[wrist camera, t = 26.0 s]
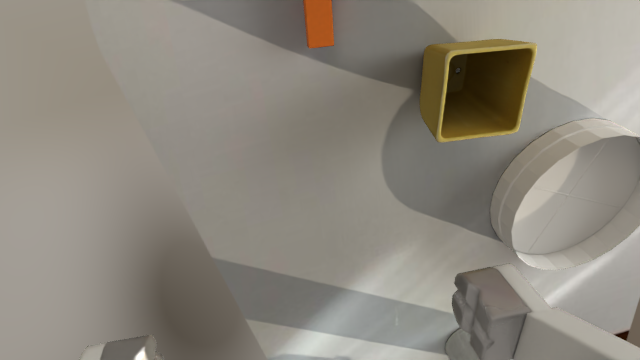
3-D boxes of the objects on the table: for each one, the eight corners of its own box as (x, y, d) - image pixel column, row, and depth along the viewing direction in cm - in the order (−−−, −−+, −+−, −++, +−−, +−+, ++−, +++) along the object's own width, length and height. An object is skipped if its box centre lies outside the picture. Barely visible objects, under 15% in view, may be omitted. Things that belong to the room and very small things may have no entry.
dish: (462, 238, 58) (480, 261, 54) (546, 100, 48) (576, 114, 44) (572, 257, 65) (596, 278, 61) (665, 138, 55) (701, 154, 51)
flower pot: (409, 32, 41) (447, 51, 34) (486, 25, 42) (540, 42, 35) (403, 110, 46) (436, 143, 38) (473, 103, 47) (518, 133, 39)
